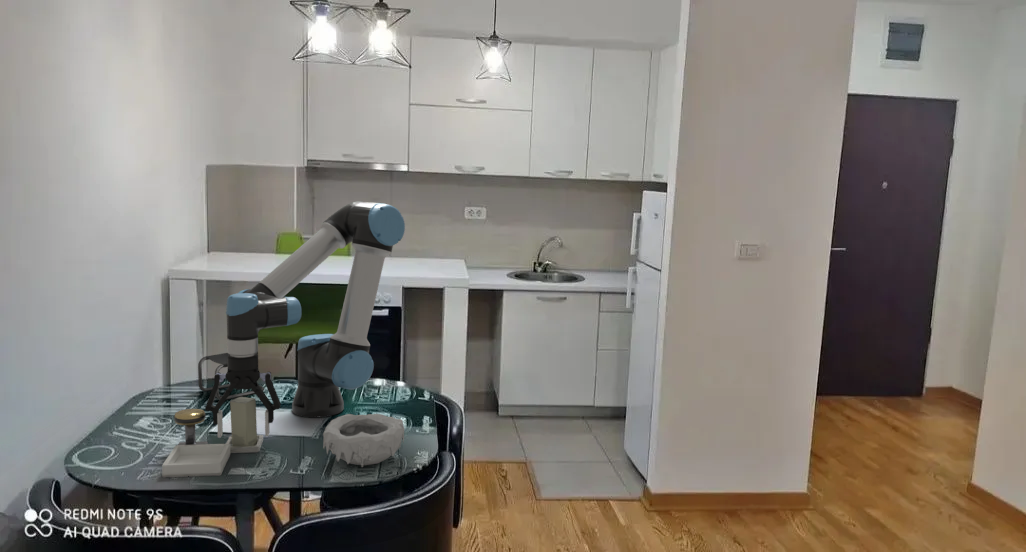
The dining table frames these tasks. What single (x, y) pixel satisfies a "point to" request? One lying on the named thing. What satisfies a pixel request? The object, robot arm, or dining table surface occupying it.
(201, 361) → the chair
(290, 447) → the dining table surface
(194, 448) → the tray
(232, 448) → the pin seat
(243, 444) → the box
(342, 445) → the bowl
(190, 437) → the mounted dome knob
